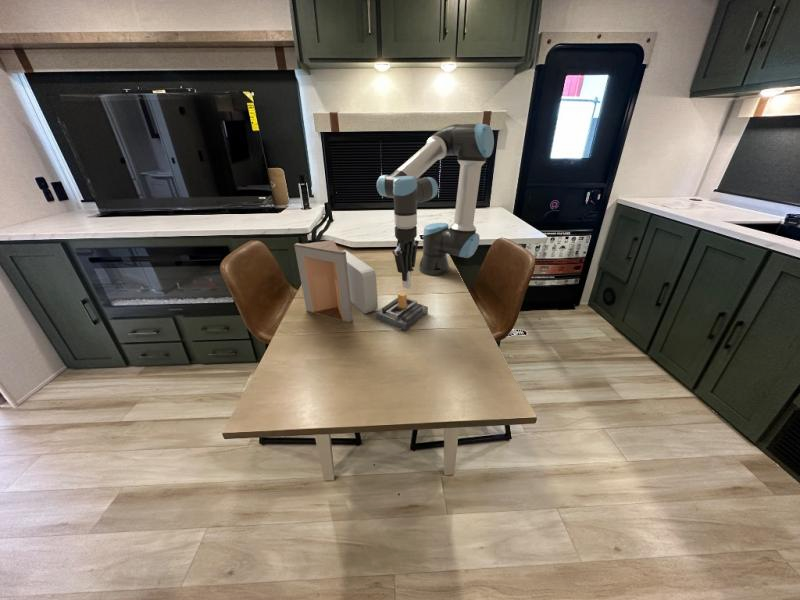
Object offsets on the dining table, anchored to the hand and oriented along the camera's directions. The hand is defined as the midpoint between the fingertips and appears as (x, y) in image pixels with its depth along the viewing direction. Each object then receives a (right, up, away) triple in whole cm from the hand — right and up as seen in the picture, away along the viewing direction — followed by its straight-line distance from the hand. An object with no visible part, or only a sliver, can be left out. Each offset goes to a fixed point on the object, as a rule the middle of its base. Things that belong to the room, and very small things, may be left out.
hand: (406, 287), depth 117 cm
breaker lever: (-2, -8, +2) cm, 9 cm away
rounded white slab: (-21, -5, +16) cm, 27 cm away
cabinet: (-28, -10, +7) cm, 31 cm away
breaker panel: (-2, -11, +3) cm, 12 cm away
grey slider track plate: (-1, -9, +2) cm, 9 cm away
